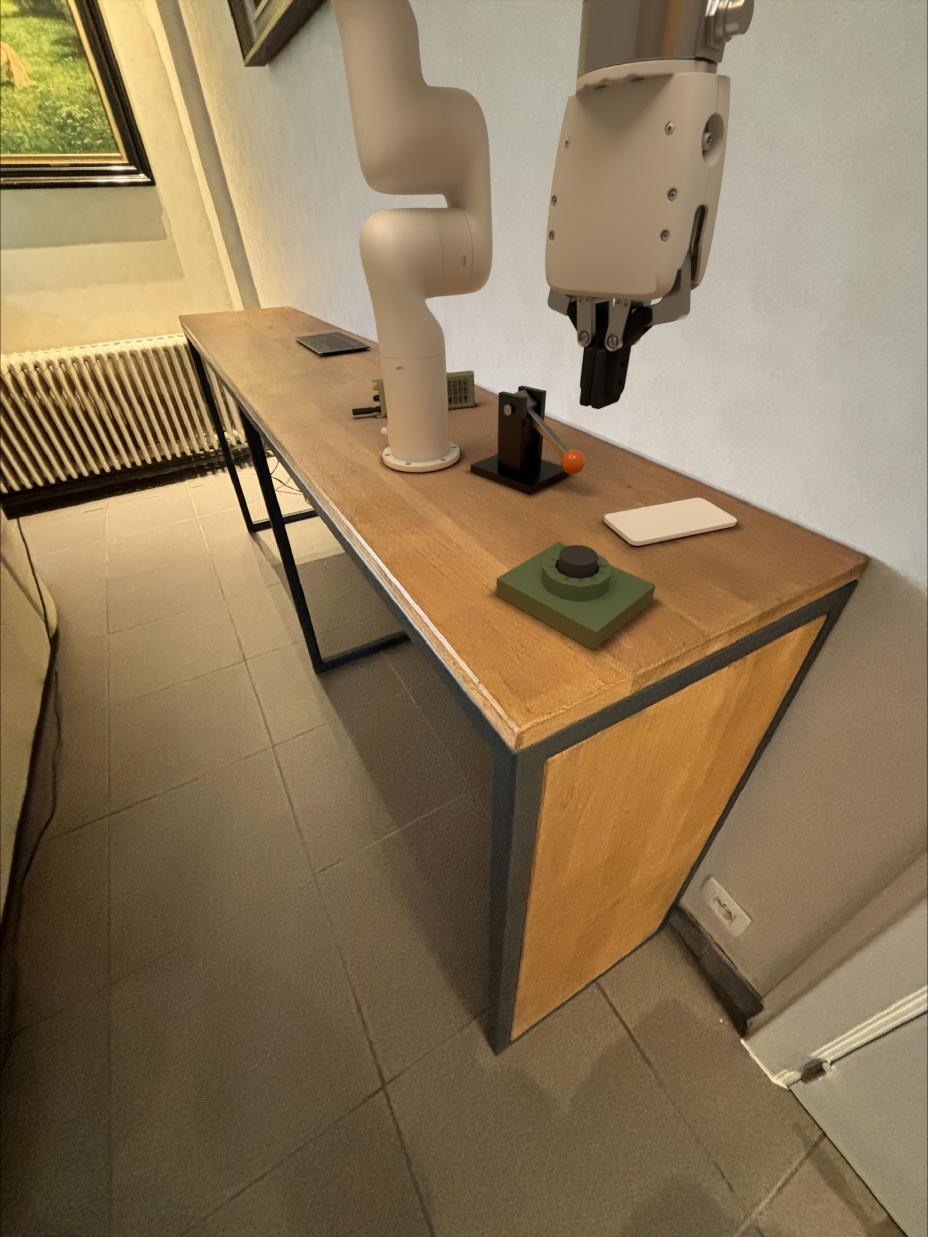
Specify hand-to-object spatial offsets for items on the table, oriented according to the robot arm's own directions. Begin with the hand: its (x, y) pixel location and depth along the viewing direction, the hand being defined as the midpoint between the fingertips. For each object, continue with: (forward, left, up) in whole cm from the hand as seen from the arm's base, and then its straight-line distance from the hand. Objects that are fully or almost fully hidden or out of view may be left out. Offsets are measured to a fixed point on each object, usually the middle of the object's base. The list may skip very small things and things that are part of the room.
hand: (599, 402), depth 39 cm
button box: (0, 0, -19) cm, 19 cm away
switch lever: (-21, +20, -13) cm, 32 cm away
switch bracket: (-25, +20, -19) cm, 37 cm away
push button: (0, 0, -15) cm, 15 cm away
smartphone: (-1, +21, -19) cm, 28 cm away
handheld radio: (-61, +29, -19) cm, 71 cm away
